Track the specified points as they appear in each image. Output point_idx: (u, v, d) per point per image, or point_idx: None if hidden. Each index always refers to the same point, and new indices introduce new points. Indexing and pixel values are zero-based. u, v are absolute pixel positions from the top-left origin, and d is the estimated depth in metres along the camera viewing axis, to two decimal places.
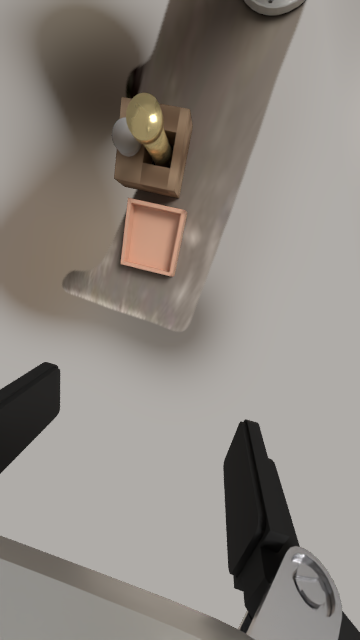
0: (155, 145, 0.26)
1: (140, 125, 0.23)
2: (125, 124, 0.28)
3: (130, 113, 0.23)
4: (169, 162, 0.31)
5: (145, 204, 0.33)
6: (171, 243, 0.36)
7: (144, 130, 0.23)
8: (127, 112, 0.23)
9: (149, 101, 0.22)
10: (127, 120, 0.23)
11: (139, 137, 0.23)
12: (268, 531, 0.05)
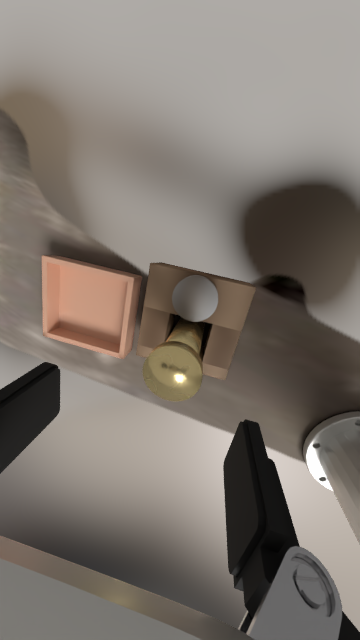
0: None
1: (160, 369, 0.14)
2: (208, 301, 0.17)
3: (177, 356, 0.13)
4: None
5: (126, 304, 0.22)
6: (93, 330, 0.26)
7: (154, 374, 0.14)
8: (178, 351, 0.13)
9: (190, 387, 0.14)
10: (168, 349, 0.13)
11: (145, 365, 0.14)
12: (268, 531, 0.05)
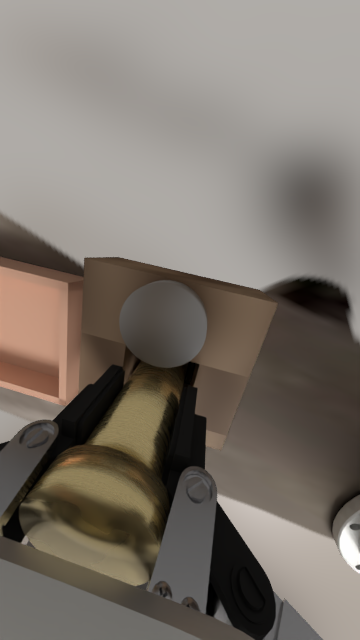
0: None
1: (59, 527, 0.05)
2: (188, 332, 0.09)
3: (93, 508, 0.05)
4: None
5: (61, 326, 0.14)
6: (26, 358, 0.18)
7: (47, 533, 0.06)
8: (95, 499, 0.05)
9: (134, 569, 0.06)
10: (68, 492, 0.05)
11: (22, 515, 0.06)
12: (175, 455, 0.07)
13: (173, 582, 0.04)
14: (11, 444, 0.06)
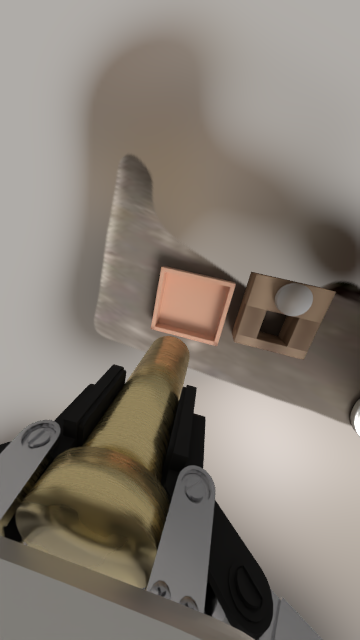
0: None
1: (56, 531, 0.05)
2: (305, 302, 0.24)
3: (91, 511, 0.05)
4: None
5: (226, 304, 0.29)
6: (188, 324, 0.33)
7: (44, 537, 0.06)
8: (93, 503, 0.05)
9: (132, 573, 0.05)
10: (65, 495, 0.05)
11: (19, 518, 0.05)
12: (173, 455, 0.07)
13: (171, 581, 0.04)
14: (13, 444, 0.06)
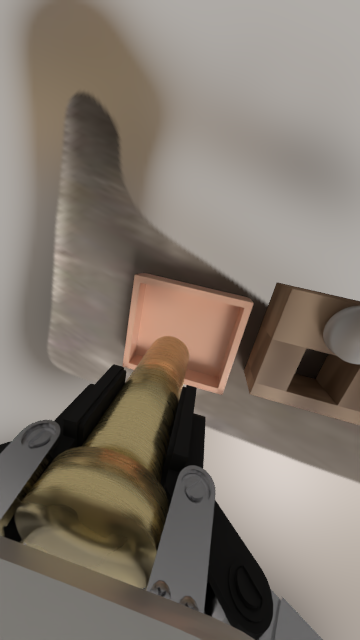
0: None
1: (56, 531, 0.05)
2: None
3: (90, 511, 0.05)
4: None
5: (238, 334, 0.18)
6: None
7: (44, 537, 0.06)
8: (92, 503, 0.05)
9: (132, 574, 0.05)
10: (64, 496, 0.05)
11: (18, 519, 0.05)
12: (173, 455, 0.07)
13: (171, 581, 0.04)
14: (13, 444, 0.06)
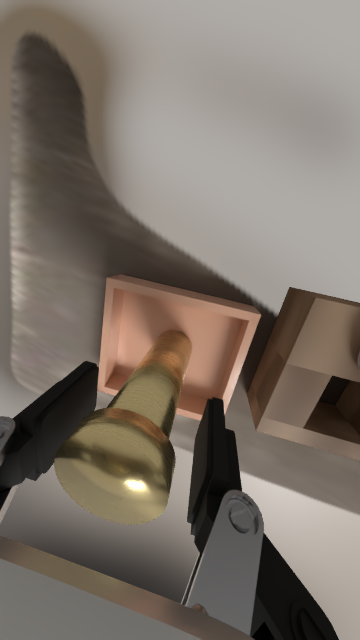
0: None
1: (87, 470, 0.07)
2: None
3: (115, 451, 0.06)
4: None
5: (240, 353, 0.14)
6: None
7: (76, 477, 0.07)
8: (117, 443, 0.06)
9: (146, 505, 0.07)
10: (96, 438, 0.06)
11: (57, 461, 0.07)
12: (213, 478, 0.06)
13: (211, 611, 0.04)
14: None
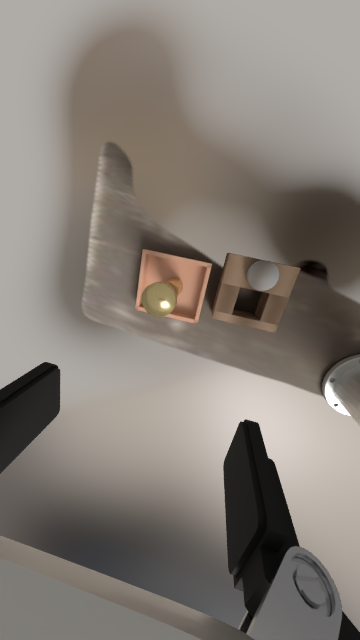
0: None
1: (151, 297, 0.24)
2: (272, 277, 0.27)
3: (161, 287, 0.23)
4: None
5: (204, 283, 0.31)
6: None
7: (148, 300, 0.24)
8: (161, 284, 0.23)
9: (169, 307, 0.24)
10: (155, 284, 0.23)
11: (142, 295, 0.24)
12: (268, 531, 0.05)
13: None
14: None
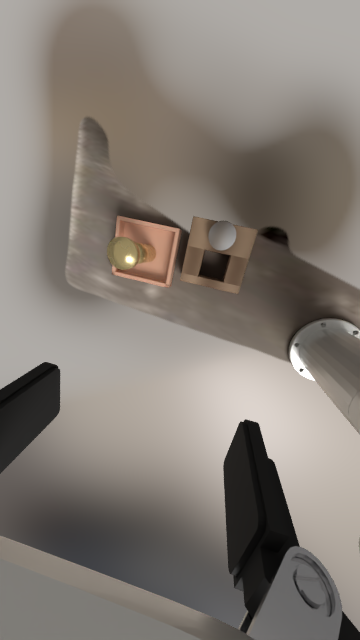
0: None
1: (116, 250, 0.26)
2: (230, 236, 0.29)
3: (123, 241, 0.26)
4: None
5: (173, 248, 0.34)
6: (145, 271, 0.38)
7: (113, 254, 0.27)
8: (123, 238, 0.26)
9: (131, 259, 0.27)
10: (118, 238, 0.26)
11: (108, 249, 0.27)
12: (268, 531, 0.05)
13: None
14: None
